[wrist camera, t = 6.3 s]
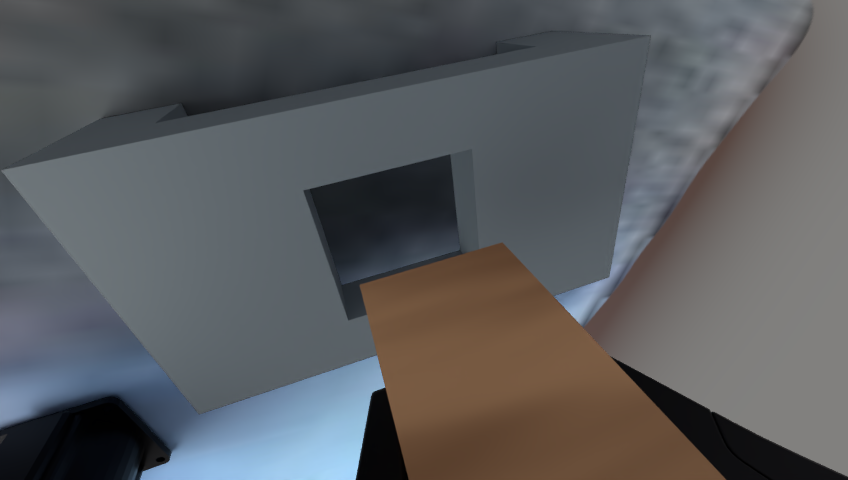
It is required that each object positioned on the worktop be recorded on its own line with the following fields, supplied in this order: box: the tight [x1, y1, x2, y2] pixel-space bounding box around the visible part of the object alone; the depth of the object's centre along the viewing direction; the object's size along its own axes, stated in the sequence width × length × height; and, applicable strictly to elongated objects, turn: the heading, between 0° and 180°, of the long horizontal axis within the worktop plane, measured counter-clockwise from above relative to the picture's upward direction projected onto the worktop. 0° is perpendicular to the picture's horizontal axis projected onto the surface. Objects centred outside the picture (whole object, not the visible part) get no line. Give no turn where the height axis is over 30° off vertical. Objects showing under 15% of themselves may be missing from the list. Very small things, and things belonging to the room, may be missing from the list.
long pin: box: [360, 242, 726, 480], centre depth 7 cm, size 4×4×9 cm
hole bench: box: [1, 31, 651, 414], centre depth 17 cm, size 11×20×6 cm, turn 98°
